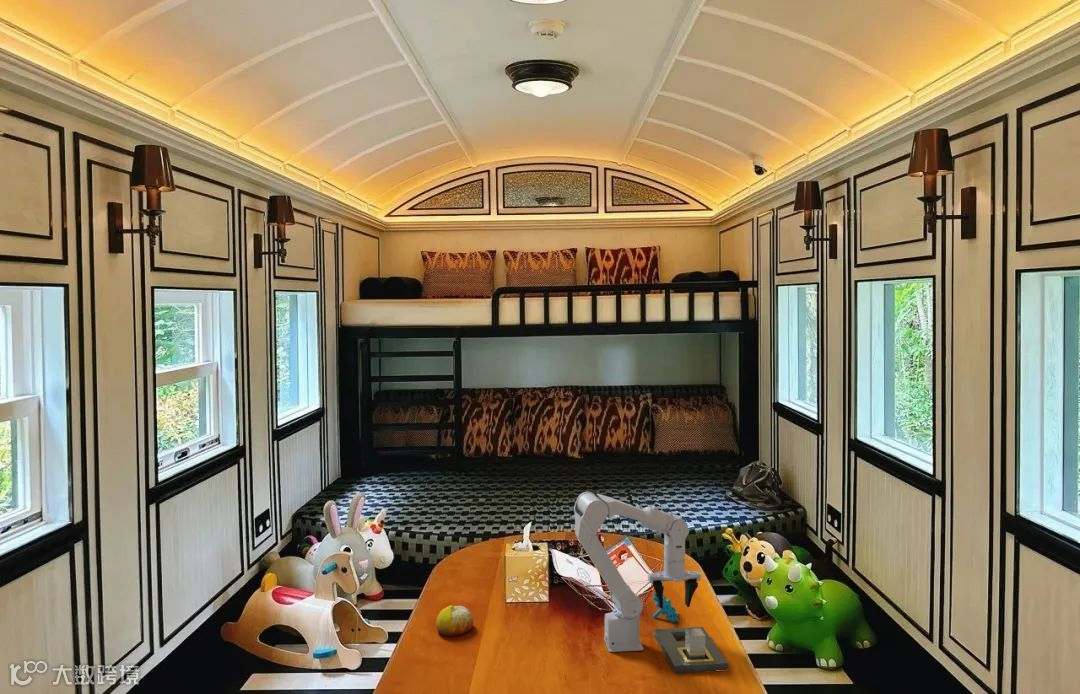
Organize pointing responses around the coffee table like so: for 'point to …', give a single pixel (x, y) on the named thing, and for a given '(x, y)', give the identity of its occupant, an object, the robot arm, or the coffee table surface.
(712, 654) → the hole plate
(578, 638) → the coffee table surface
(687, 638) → the steel peg
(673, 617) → the teal lobed piece
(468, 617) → the fruit
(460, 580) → the coffee table surface
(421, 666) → the coffee table surface
